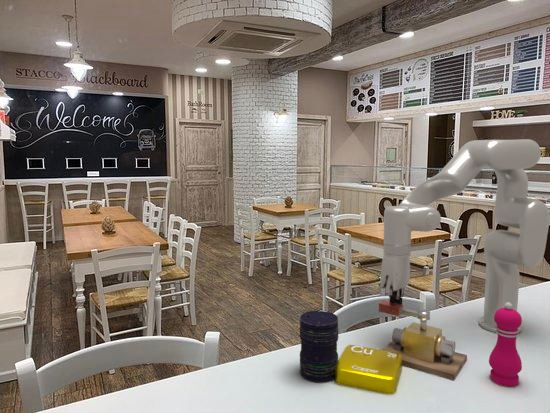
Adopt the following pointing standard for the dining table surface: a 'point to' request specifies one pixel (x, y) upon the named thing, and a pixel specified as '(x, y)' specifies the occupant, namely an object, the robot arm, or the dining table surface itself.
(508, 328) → the pepper mill
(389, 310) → the valve lever
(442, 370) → the valve board
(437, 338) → the ball valve
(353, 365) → the element tile
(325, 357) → the black ridged cylinder
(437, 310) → the dining table surface
